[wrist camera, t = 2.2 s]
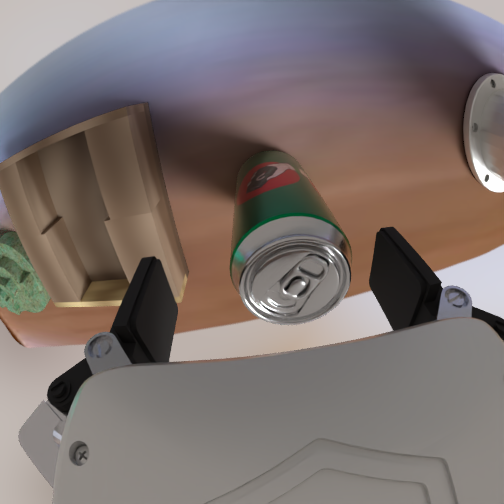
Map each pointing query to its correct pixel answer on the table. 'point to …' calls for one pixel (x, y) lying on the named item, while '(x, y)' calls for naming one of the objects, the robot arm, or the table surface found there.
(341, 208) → the table surface
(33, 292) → the decorative artifact
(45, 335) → the table surface
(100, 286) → the open cardboard box
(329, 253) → the soda can
